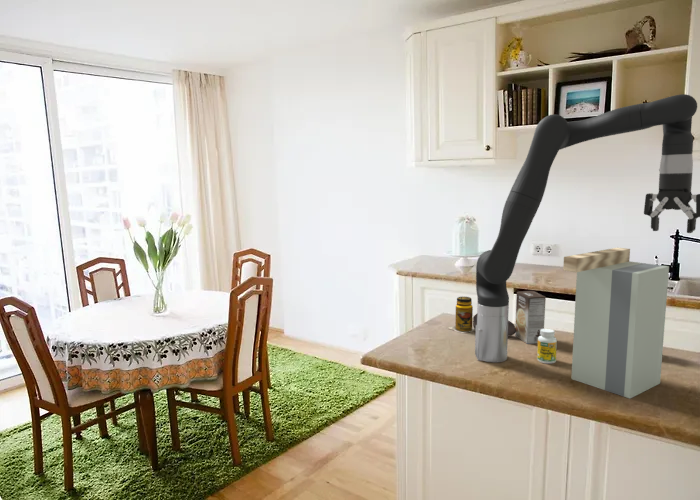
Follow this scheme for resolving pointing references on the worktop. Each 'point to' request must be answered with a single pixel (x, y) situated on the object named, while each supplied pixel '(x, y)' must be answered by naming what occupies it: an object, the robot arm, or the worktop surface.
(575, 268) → the beech rod
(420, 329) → the worktop surface
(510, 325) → the perforated stone tool
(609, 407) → the worktop surface
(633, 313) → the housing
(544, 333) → the supplement bottle
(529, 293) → the coffee box
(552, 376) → the worktop surface
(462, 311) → the condiment
